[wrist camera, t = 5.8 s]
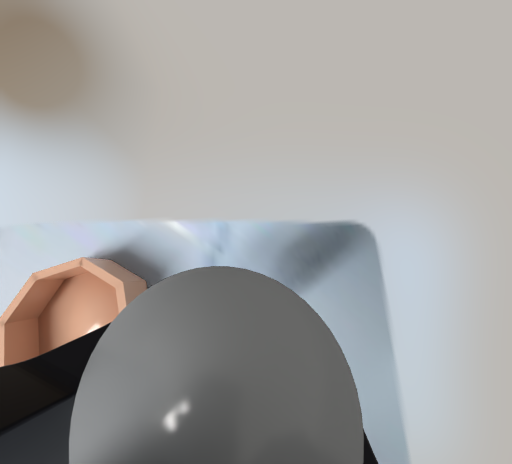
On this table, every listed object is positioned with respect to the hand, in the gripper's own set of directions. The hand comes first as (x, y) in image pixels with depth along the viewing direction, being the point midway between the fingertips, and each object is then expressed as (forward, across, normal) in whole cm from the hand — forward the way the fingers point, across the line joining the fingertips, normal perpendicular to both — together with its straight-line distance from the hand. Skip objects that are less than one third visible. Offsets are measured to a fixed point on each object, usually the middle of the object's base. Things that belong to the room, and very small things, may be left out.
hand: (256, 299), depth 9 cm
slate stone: (+4, 0, +6) cm, 7 cm away
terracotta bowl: (+1, +16, +16) cm, 22 cm away
